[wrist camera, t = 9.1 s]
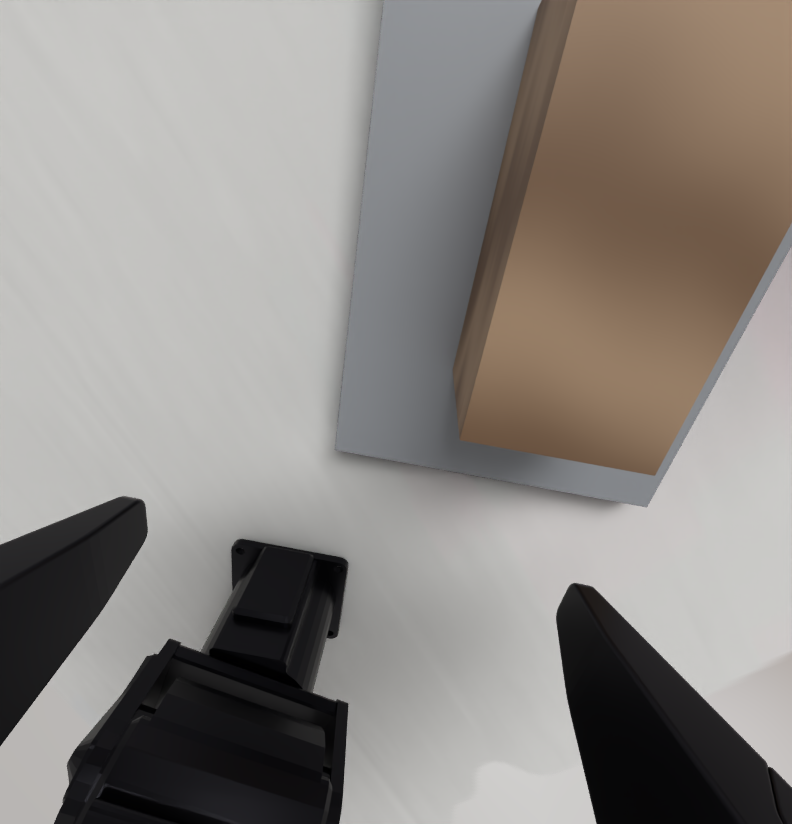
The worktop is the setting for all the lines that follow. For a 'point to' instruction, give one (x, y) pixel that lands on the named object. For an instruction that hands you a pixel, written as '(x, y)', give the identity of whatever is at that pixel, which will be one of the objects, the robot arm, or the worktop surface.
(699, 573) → the worktop surface
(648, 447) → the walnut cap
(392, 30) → the pin board
